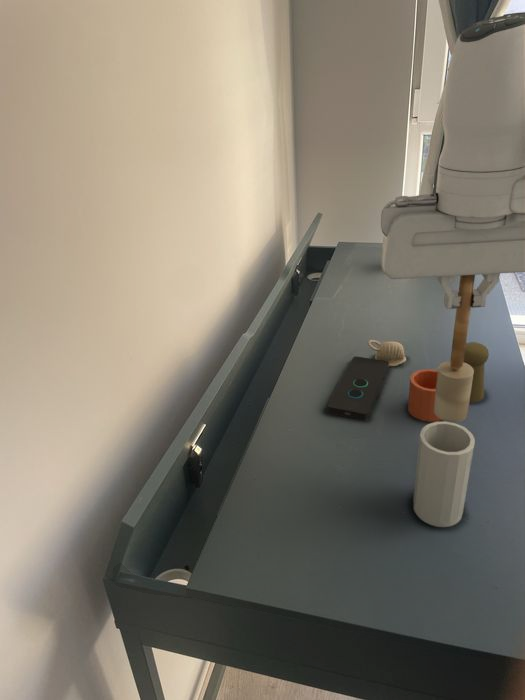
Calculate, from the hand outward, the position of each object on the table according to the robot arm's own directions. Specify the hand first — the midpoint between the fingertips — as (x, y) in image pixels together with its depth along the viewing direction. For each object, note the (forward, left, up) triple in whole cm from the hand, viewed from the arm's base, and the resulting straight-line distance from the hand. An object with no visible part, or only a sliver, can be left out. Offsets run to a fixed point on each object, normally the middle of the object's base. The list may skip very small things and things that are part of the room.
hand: (464, 306), depth 64 cm
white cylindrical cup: (0, +1, -34) cm, 34 cm away
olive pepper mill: (-13, -29, -34) cm, 47 cm away
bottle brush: (0, 0, -16) cm, 16 cm away
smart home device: (+8, -32, -34) cm, 48 cm away
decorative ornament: (+1, -43, -34) cm, 55 cm away
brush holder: (-4, -24, -34) cm, 42 cm away
